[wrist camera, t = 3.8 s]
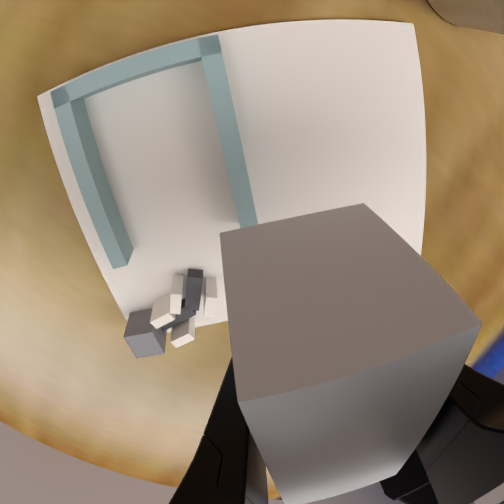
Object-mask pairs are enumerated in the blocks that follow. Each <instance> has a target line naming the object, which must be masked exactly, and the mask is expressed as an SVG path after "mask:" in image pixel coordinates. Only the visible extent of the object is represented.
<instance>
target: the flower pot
mask: <svg viewBox="0 0 504 504" xmlns="http://www.w3.org/2000/svg"><path fill="white" fill-rule="evenodd" d="M428 2H429V3H430V5H431V6H432V8H433V9H434V10H435V11H436V12H437V13H438V14H439V15H440V16H441V17H442V18H443V19H444V20H446V21H447V22H449V23H452V24H454V25H456V26H459V27H466V28H473V29H479V30H485V31H490V32H495V33H500V34H504V0H428Z"/></svg>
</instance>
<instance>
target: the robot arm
mask: <svg viewBox="0 0 504 504" xmlns="http://www.w3.org/2000/svg"><path fill="white" fill-rule="evenodd" d="M379 482H380V484H381V486H382V488H383V490H384V493H385V495H387V496H388V497H389V498H391V499H392V500H397V499H398V500H400V501H402V502H404V503H406V504H470V503H472V502H473V501H474V503H475V504H504V385H503V384H501V383H499V382H497V381H495V380H493V379H491V378H489V377H487V376H485V375H483V374H481V373H479V372H477V371H476V370H474V369H472V368H471V367H469V366H467V365H466V364H464V366H463V368H462V370H461V372H460V374H459V376H458V378H457V380H456V382H455V384H454V386H453V388H452V389H451V391H450V393H449V395H448V397H447V399H446V400H445V402H444V404H443V406H442V407H441V409H440V411H439V412H438V414H437V416H436V417H435V419H434V421H433V422H432V424H431V425H430V427H429V429H428V430H427V432H426V433H425V435H424V436H423V438H422V439H421V441H420V442H419V444H418V445H417V447H416V448H415V450H414V451H413V452H412V454H411V455H410V457H409V458H408V459H407V461H406V462H405V463H404V465H403V466H402V467H401V469H400V470H399V471H398V473H397V474H396V475H394V476H391V477H389V478H386V479H384V480H381V481H379ZM169 504H268V491H267V477H266V464H265V462H264V460H263V458H262V456H261V454H260V452H259V449H258V447H257V445H256V443H255V441H254V438H253V436H252V434H251V432H250V429H249V427H248V425H247V423H246V420H245V418H244V416H243V413H242V411H241V409H240V406H239V404H238V400H237V392H236V384H235V376H234V368H233V359H232V357H231V360H230V363H229V366H228V368H227V371H226V374H225V377H224V379H223V382H222V385H221V387H220V390H219V393H218V396H217V398H216V401H215V404H214V407H213V409H212V412H211V415H210V417H209V420H208V423H207V425H206V428H205V431H204V435H203V436H202V438H201V441H200V444H199V446H198V449H197V451H196V454H195V456H194V458H193V460H192V462H191V464H190V466H189V468H188V470H187V472H186V474H185V476H184V477H183V479H182V481H181V483H180V485H179V486H178V488H177V490H176V492H175V494H174V495H173V497H172V499H171V500H170V502H169Z"/></svg>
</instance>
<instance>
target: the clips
mask: <svg viewBox="0 0 504 504" xmlns="http://www.w3.org/2000/svg"><path fill="white" fill-rule="evenodd" d="M183 278H184V275H180V274H173V280H172V287H171V293H169V294H167V295H165V296H163V297H162V298H160V299H158V300H156V301H155V302H154V303H153V308H152V314H151V319H150V323H151V324H152V325H153V326H154V327H155V328H156V329H158V328H160V327H162V326H164V325H166V324H167V323H169V322H171V321H173V320H175V315H176V314H181V301H182V290H183ZM216 304H217V283H216V278H210V277H206V280H205V288H204V296H203V307H204V317H215V310H216ZM194 339H195V318H194V317H191V318H189V319H187V320H185V321H183V322H181V323H179V324H177V325H175V326H173V327H172V330H171V341H170V342H171V343H172V344H173V345H174V346H175V347H176V348H177V347H180V346H182V345H184V344H186V343H188V342H190V341H192V340H194Z"/></svg>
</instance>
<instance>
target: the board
mask: <svg viewBox="0 0 504 504" xmlns="http://www.w3.org/2000/svg"><path fill="white" fill-rule="evenodd" d="M216 34H218V37H219V41H220V46H221V51H222V55H223V60H224V64H225V69H226V73H227V78H228V83H229V87H230V92H231V96H232V101H233V106H234V110H235V115H236V120H237V124H238V129H239V134H240V139H241V143H242V148H243V153H244V158H245V162H246V167H247V172H248V177H249V182H250V187H251V191H252V196H253V201H254V206H255V211H256V216H257V221H258V224H263V223H268V222H272V221H277V220H282V219H287V218H291V217H296V216H301V215H306V214H311V213H316V212H321V211H326V210H331V209H336V208H341V207H346V206H351V205H356V204H361V203H364V204H365V205H367V206H368V207H369V208H370V209H371V210H372V211H373V212H374V213H376V214H377V215H378V216H379V217H380V218H381V219H382V220H383V221H384V222H386V223H387V224H388V225H389V226H390V227H391V228H392V229H393V230H394V231H395V232H396V233H397V234H398V235H400V236H401V237H402V238H403V239H404V240H405V241H406V242H407V243H408V244H409V245H410V246H411V247H412V248H413V249H414V250H415V251H416V252H417V253H418V254H419V255H420V256H421V249H422V240H423V228H424V215H425V196H426V129H425V110H424V97H423V86H422V77H421V69H420V61H419V54H418V48H417V41H416V36H415V30H414V25H413V24H412V23H403V22H392V21H377V20H307V21H292V22H281V23H272V24H263V25H256V26H249V27H242V28H236V29H230V30H225V31H219V32H214V33H210V34H205V35H200V36H196V37H192V38H188V39H184V40H180V41H176V42H172V43H169V44H165V45H162V46H158V47H155V48H152V49H148V50H145V51H142V52H139V53H136V54H133V55H130V56H127V57H124V58H122V59H119V60H116V61H114V62H111V63H108V64H106V65H103V66H101V67H98V68H96V69H93V70H91V71H89V72H86V73H84V74H82V75H80V76H77V77H75V78H73V79H71V80H69V81H66V82H64V83H62V84H60V85H58V86H56V87H54V88H52V89H50V90H48V91H46V92H44V93H43V94H41V95H39V96H37V98H38V102H39V106H40V110H41V114H42V117H43V121H44V125H45V128H46V132H47V135H48V138H49V142H50V145H51V148H52V151H53V154H54V157H55V161H56V164H57V166H58V169H59V172H60V175H61V178H62V181H63V184H64V186H65V189H66V192H67V194H68V197H69V200H70V202H71V205H72V207H73V210H74V212H75V215H76V217H77V220H78V222H79V224H80V227H81V229H82V231H83V234H84V236H85V238H86V241H87V243H88V245H89V247H90V250H91V252H92V254H93V256H94V258H95V260H96V262H97V265H98V267H99V269H100V271H101V273H102V275H103V277H104V279H105V281H106V283H107V285H108V287H109V289H110V291H111V293H112V295H113V297H114V299H115V300H116V302H117V304H118V306H119V308H120V310H121V312H122V313H123V315H124V317H125V319H126V321H127V322H128V318H129V314H130V313H131V312H136V311H141V310H146V309H151V308H153V303H154V302H155V301H156V300H158V299H160V298H162V297H163V296H165V295H167V294H169V293H171V287H172V280H173V274H180V275H184V278H183V290H182V299H184V298H185V296H186V285H187V275H188V268H190V269H199V270H203V283H202V291H201V299H200V307H199V311H196V315H195V316H193V317H194V318H195V327H200V326H205V325H209V324H214V323H219V322H224V321H228V315H227V306H226V296H225V286H224V276H223V266H222V255H221V245H220V233H221V232H226V231H231V230H235V229H240V224H239V220H238V216H237V211H236V207H235V203H234V198H233V194H232V190H231V185H230V181H229V177H228V172H227V168H226V164H225V159H224V155H223V151H222V146H221V142H220V138H219V133H218V129H217V125H216V120H215V116H214V111H213V107H212V103H211V98H210V94H209V89H208V85H207V80H206V76H205V72H204V67H203V63H202V61H199V62H194V63H190V64H186V65H182V66H179V67H175V68H171V69H168V70H164V71H161V72H158V73H154V74H151V75H148V76H145V77H142V78H138V79H135V80H133V81H130V82H127V83H124V84H121V85H118V86H116V87H113V88H110V89H108V90H105V91H102V92H100V93H97V94H95V95H92V96H90V97H88V98H85V99H84V102H85V106H86V110H87V114H88V117H89V121H90V124H91V128H92V131H93V135H94V138H95V142H96V145H97V148H98V151H99V155H100V158H101V161H102V164H103V167H104V170H105V173H106V176H107V179H108V182H109V185H110V188H111V191H112V193H113V196H114V199H115V202H116V205H117V207H118V210H119V213H120V215H121V218H122V221H123V223H124V226H125V228H126V231H127V234H128V236H129V239H130V241H131V244H132V246H133V249H134V250H133V252H132V255H131V257H130V260H129V263H128V265H127V266H124V267H120V268H116V269H113V268H112V266H111V264H110V262H109V260H108V257H107V255H106V253H105V251H104V248H103V246H102V244H101V242H100V239H99V237H98V234H97V232H96V230H95V227H94V225H93V222H92V220H91V218H90V215H89V213H88V210H87V207H86V205H85V202H84V200H83V197H82V194H81V192H80V189H79V186H78V183H77V181H76V178H75V175H74V172H73V169H72V166H71V163H70V160H69V157H68V154H67V151H66V148H65V144H64V141H63V138H62V134H61V131H60V128H59V124H58V121H57V117H56V113H55V109H54V106H53V102H52V98H51V94H50V92H51V91H53V90H55V89H57V88H59V87H61V86H63V85H65V84H67V83H70V82H72V81H74V80H76V79H78V78H81V77H83V76H85V75H87V74H90V73H92V72H95V71H97V70H99V69H102V68H104V67H107V66H110V65H112V64H115V63H118V62H120V61H123V60H126V59H129V58H132V57H134V56H137V55H140V54H144V53H147V52H150V51H153V50H156V49H160V48H163V47H167V46H170V45H174V44H178V43H182V42H185V41H190V40H194V39H198V38H202V37H207V36H212V35H216ZM206 277H210V278H216V283H217V304H216V310H215V317H204V307H203V296H204V288H205V280H206ZM171 330H172V327H171V328H169V329H167V333H169V332H171Z"/></svg>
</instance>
